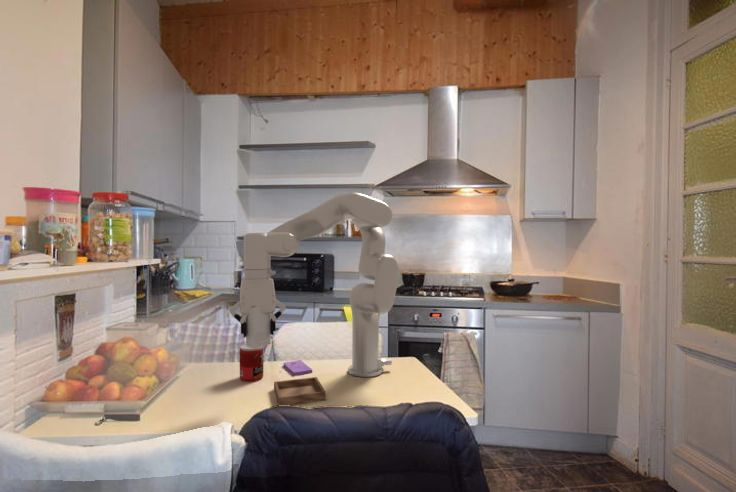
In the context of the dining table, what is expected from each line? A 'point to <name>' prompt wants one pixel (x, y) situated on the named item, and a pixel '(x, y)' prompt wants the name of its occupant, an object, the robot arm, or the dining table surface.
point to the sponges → (297, 367)
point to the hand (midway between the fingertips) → (258, 334)
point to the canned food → (251, 363)
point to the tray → (299, 391)
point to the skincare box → (257, 328)
